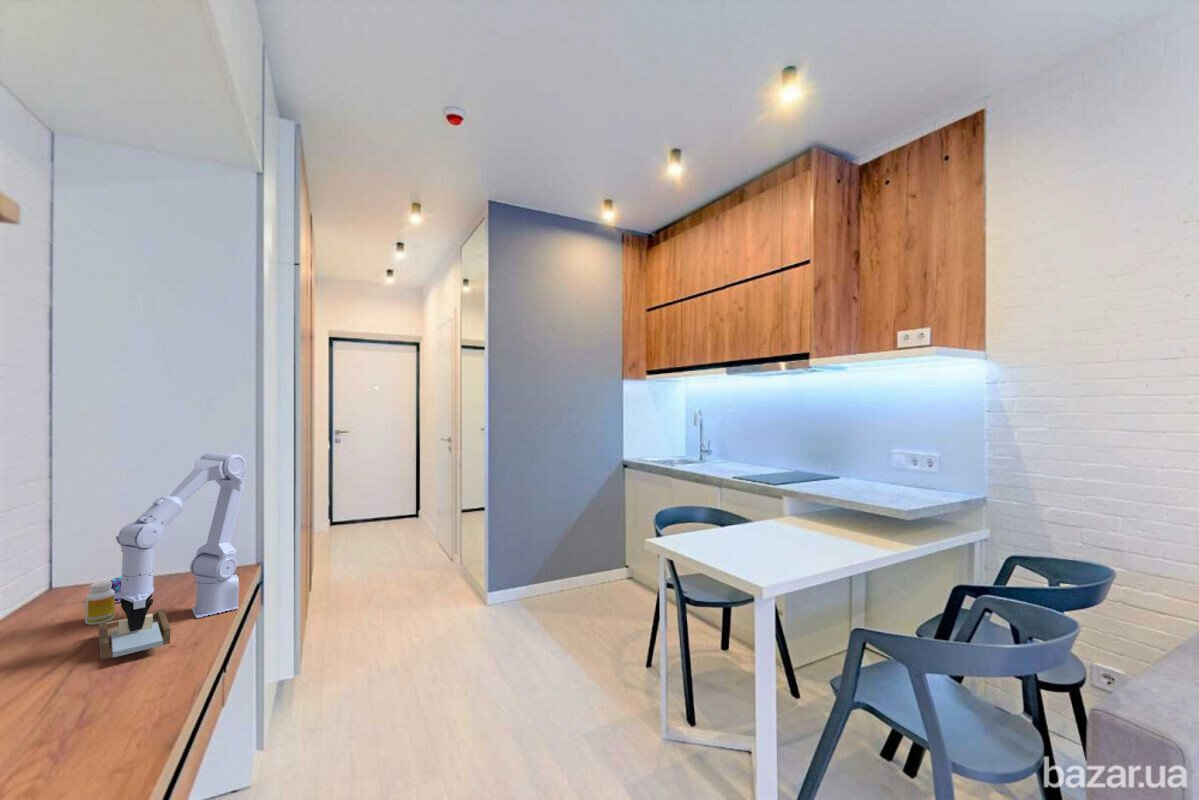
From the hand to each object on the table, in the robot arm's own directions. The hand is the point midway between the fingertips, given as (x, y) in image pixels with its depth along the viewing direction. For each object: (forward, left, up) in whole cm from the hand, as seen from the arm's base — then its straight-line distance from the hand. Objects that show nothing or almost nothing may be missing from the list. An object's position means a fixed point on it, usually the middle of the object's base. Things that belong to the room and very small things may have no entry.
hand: (135, 628), depth 121 cm
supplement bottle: (+5, -21, -4) cm, 22 cm away
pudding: (0, -37, -4) cm, 37 cm away
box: (0, -3, -4) cm, 5 cm away
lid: (0, +3, -2) cm, 4 cm away
